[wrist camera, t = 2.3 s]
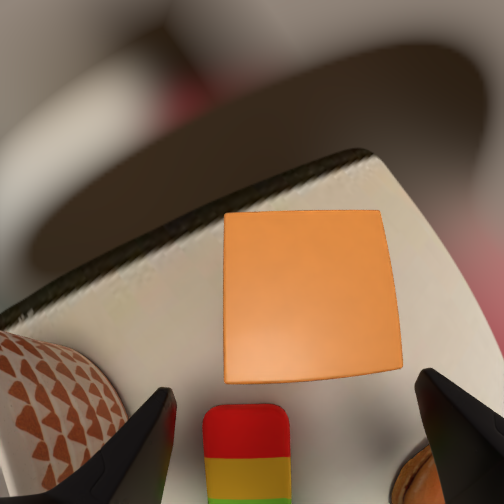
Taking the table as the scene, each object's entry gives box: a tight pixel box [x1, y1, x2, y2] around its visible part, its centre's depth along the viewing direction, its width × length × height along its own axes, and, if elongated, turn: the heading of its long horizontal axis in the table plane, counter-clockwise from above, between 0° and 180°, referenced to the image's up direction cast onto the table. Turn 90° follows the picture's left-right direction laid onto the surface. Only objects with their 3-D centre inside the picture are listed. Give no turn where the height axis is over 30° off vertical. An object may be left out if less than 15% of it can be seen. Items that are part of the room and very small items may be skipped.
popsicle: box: [202, 404, 292, 504], centre depth 14 cm, size 6×15×2 cm, turn 2°
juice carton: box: [223, 210, 403, 384], centre depth 13 cm, size 5×5×13 cm
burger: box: [391, 445, 445, 504], centre depth 12 cm, size 10×9×5 cm
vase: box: [0, 330, 128, 497], centre depth 11 cm, size 14×14×13 cm
